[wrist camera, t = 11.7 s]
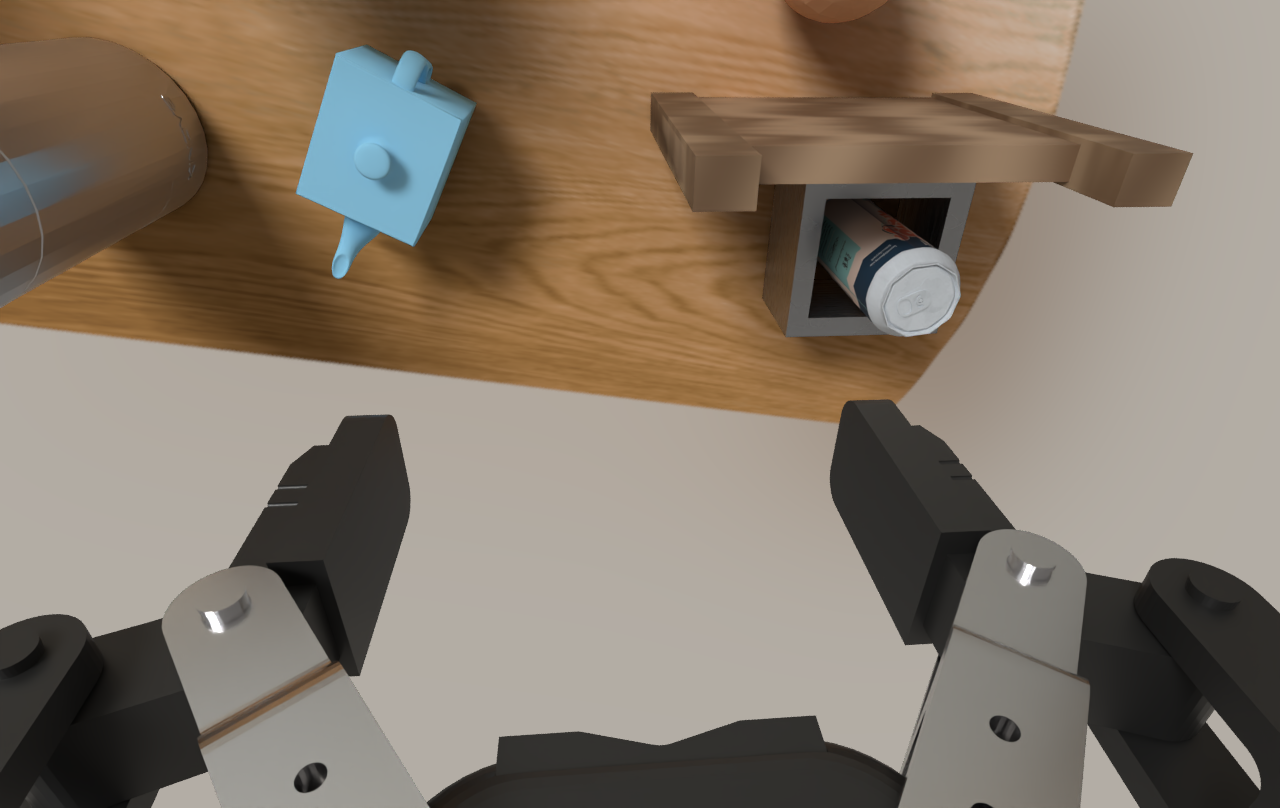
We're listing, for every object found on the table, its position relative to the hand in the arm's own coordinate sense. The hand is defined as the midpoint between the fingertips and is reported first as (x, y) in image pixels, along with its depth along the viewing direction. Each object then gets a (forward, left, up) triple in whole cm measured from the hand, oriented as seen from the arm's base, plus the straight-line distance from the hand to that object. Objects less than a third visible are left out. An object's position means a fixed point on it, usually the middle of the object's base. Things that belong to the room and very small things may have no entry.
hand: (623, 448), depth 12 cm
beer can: (+16, -6, -32) cm, 36 cm away
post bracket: (+16, -6, -32) cm, 36 cm away
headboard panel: (+13, +1, -32) cm, 35 cm away
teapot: (-11, -1, -32) cm, 34 cm away
